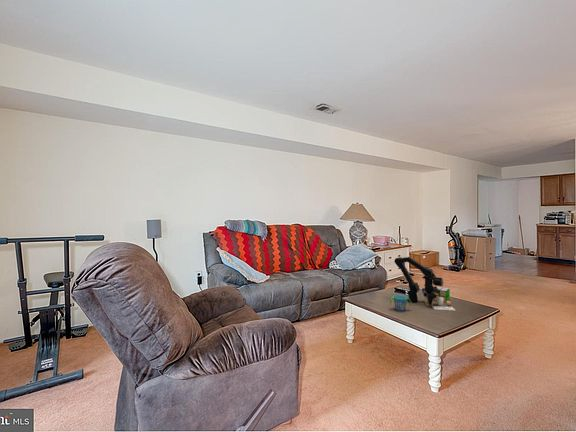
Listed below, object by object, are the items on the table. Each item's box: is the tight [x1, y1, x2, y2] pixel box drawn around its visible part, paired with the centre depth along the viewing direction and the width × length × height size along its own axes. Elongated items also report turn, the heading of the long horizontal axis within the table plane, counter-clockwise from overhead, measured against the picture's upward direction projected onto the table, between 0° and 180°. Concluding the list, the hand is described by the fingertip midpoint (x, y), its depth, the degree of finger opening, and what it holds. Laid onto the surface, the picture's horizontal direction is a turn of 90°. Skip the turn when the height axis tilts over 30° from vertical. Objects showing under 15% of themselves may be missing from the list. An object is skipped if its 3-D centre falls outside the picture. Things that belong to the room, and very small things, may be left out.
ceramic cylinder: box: [437, 297, 444, 307], centre depth 227 cm, size 4×4×6 cm
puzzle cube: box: [433, 286, 451, 304], centre depth 239 cm, size 10×10×10 cm
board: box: [431, 305, 457, 312], centre depth 218 cm, size 15×8×1 cm, turn 80°
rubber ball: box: [445, 300, 452, 306], centre depth 226 cm, size 4×4×4 cm
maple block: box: [424, 296, 434, 307], centre depth 229 cm, size 5×5×6 cm
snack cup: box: [389, 294, 412, 312], centre depth 218 cm, size 16×10×10 cm
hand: (428, 303), depth 229 cm, fingers open, 8 cm apart
